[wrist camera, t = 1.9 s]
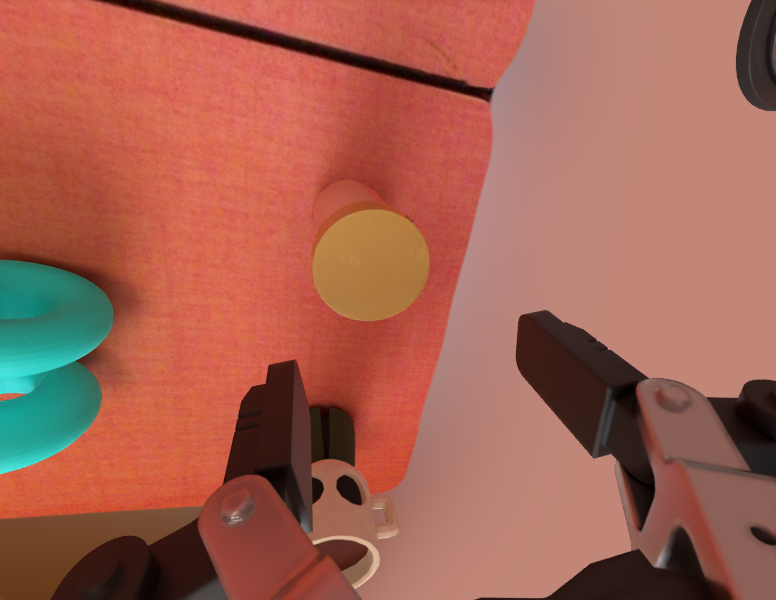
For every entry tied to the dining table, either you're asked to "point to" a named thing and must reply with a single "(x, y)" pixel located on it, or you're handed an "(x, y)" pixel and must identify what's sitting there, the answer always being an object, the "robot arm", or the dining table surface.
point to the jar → (341, 199)
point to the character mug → (345, 500)
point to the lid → (369, 261)
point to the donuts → (47, 359)
